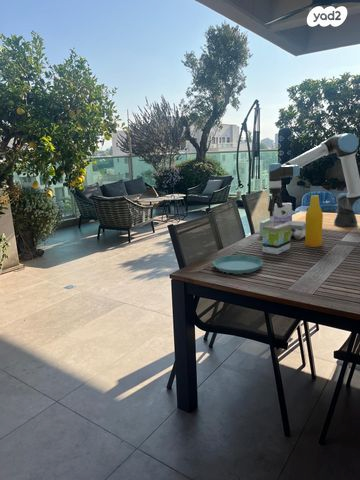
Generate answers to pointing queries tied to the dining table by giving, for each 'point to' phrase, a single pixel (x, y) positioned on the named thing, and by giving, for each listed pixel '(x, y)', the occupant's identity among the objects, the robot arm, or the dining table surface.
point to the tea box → (276, 238)
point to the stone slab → (297, 224)
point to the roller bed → (298, 233)
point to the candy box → (283, 213)
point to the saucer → (238, 264)
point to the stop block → (264, 223)
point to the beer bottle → (314, 223)
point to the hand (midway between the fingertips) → (275, 219)
